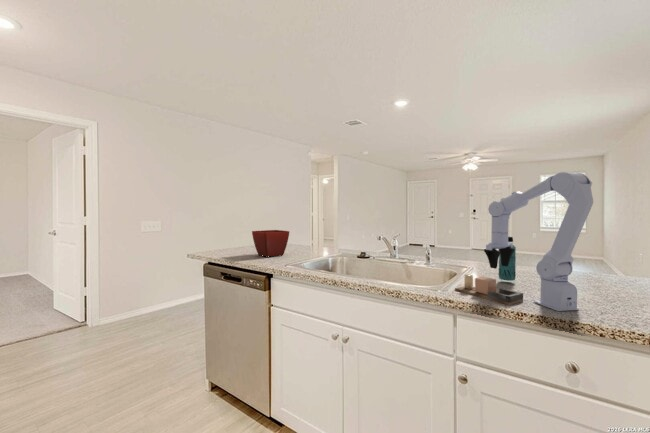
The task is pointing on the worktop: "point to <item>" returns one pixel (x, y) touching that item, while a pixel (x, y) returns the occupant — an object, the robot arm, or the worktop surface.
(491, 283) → the clay block
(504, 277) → the beverage bottle
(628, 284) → the worktop surface
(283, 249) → the plant pot
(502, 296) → the lane shelf
